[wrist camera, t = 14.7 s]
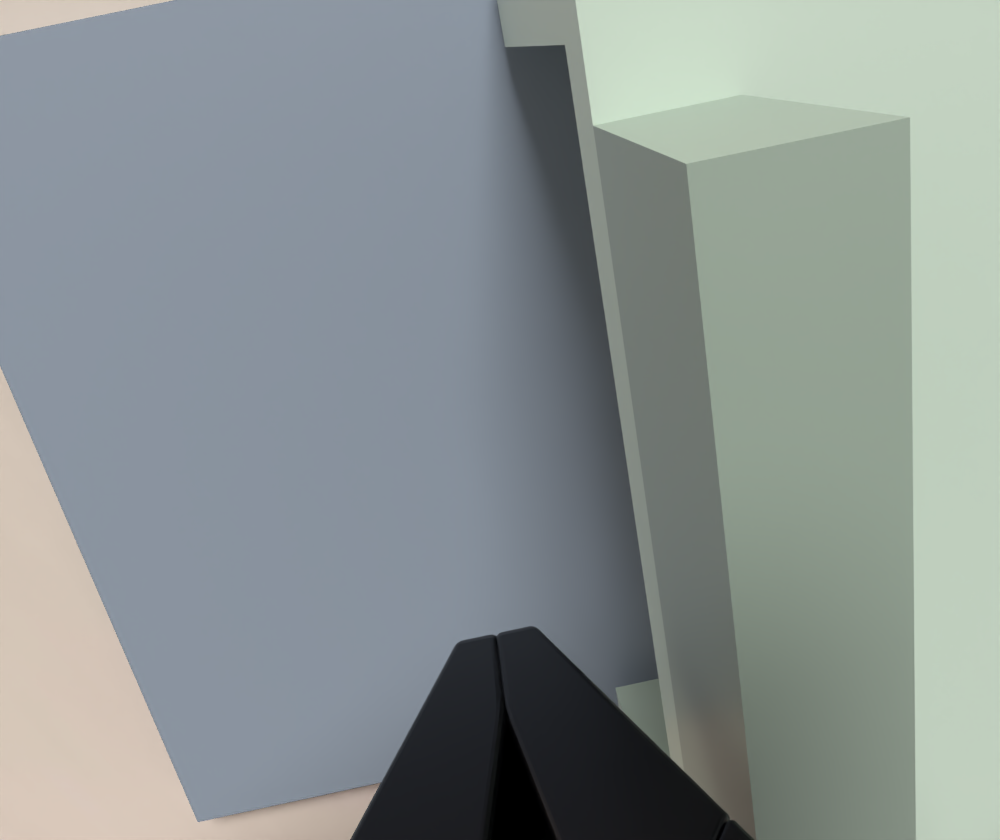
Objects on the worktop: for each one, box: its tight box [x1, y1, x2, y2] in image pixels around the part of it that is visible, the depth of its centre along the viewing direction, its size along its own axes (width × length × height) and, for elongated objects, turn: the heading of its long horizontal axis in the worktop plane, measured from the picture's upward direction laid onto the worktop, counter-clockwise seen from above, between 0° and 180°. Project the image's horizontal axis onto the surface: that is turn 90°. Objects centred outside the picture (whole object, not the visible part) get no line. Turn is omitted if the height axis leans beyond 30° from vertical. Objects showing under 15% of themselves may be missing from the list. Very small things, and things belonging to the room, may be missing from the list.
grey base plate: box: [0, 0, 659, 822], centre depth 14 cm, size 22×14×4 cm, turn 101°
